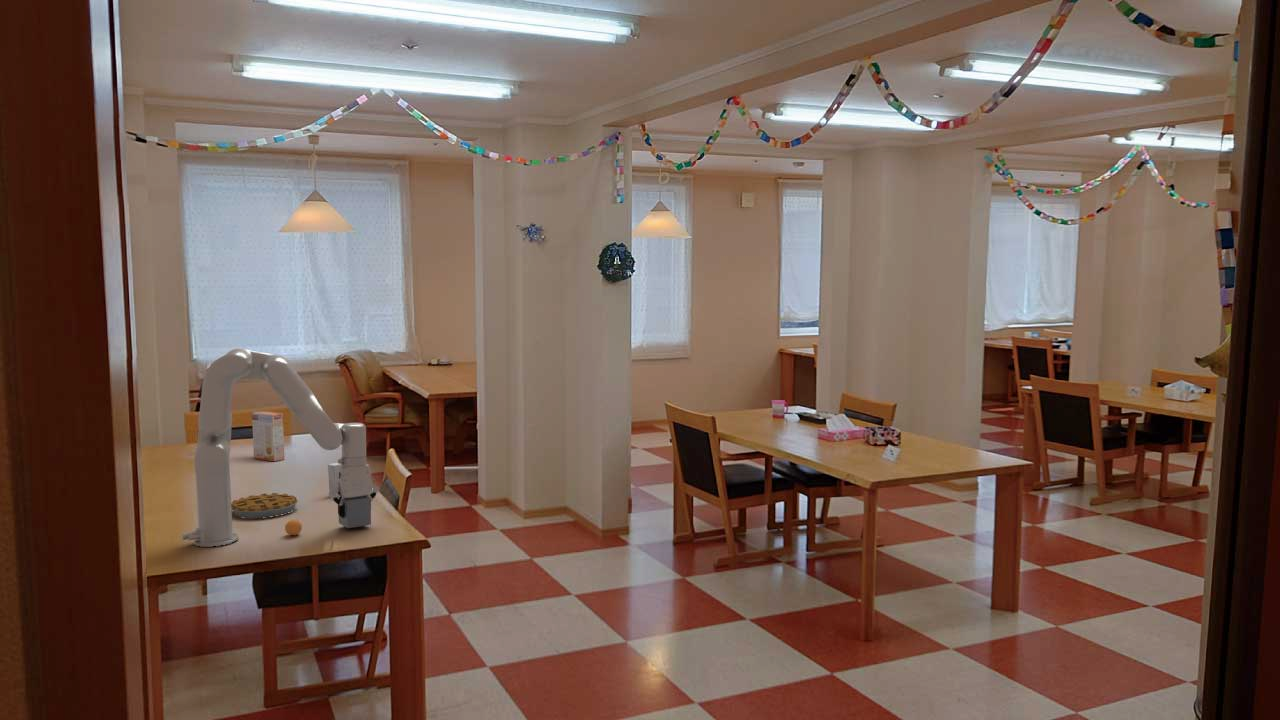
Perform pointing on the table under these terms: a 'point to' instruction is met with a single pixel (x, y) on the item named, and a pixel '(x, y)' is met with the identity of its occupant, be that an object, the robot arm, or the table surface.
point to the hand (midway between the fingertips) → (354, 514)
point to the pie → (264, 505)
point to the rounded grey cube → (356, 512)
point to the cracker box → (268, 436)
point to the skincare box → (333, 476)
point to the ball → (293, 527)
